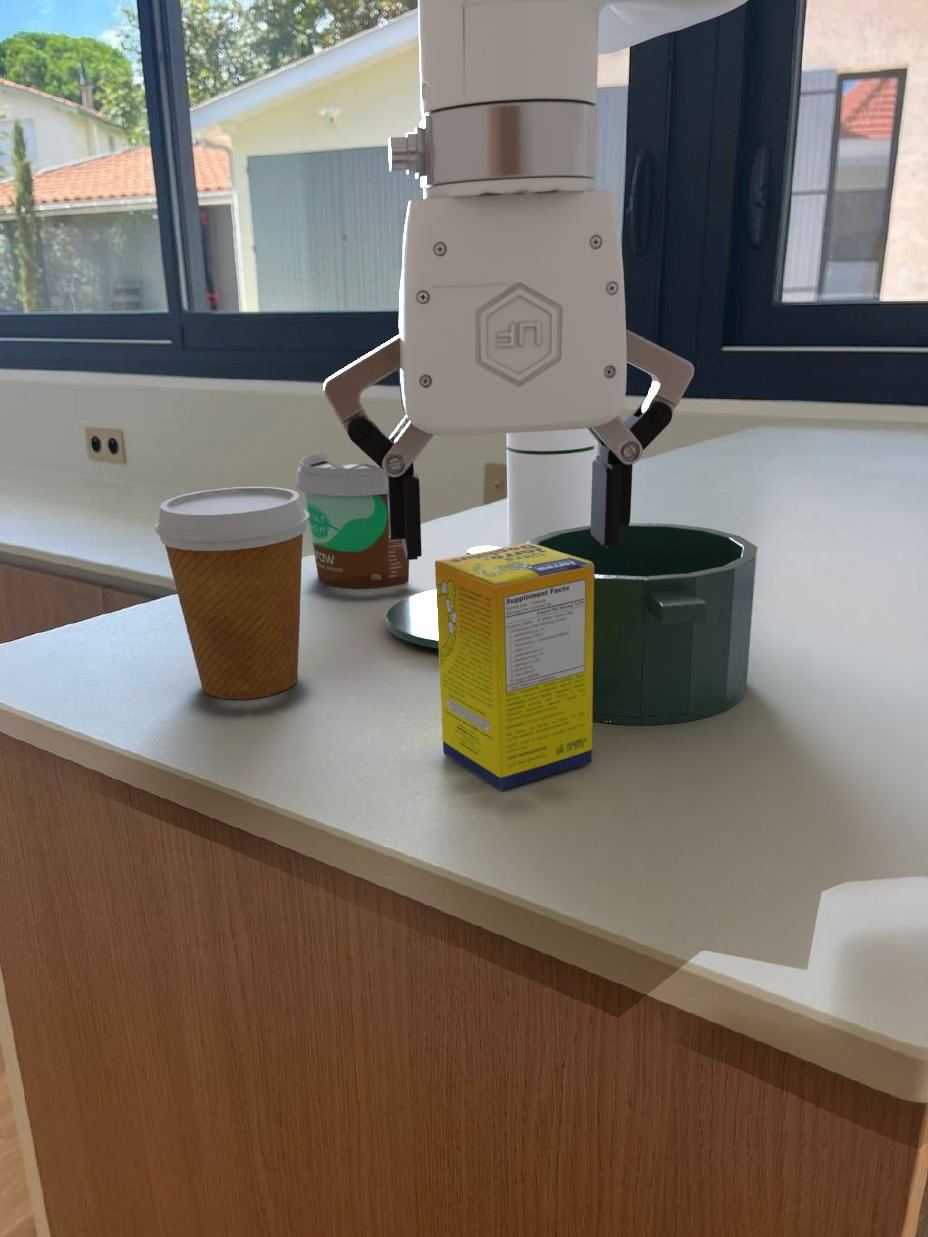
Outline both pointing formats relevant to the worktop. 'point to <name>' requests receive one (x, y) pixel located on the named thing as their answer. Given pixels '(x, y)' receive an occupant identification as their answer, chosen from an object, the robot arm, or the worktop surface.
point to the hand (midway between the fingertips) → (508, 547)
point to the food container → (350, 524)
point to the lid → (419, 615)
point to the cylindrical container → (548, 482)
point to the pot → (666, 620)
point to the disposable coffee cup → (238, 584)
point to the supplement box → (516, 661)
